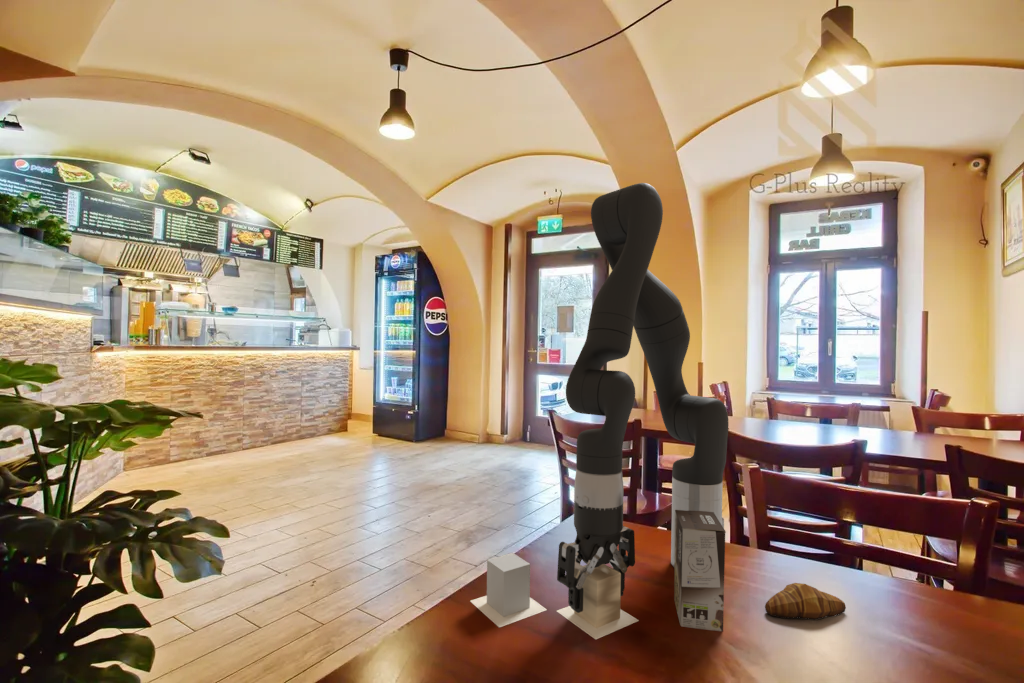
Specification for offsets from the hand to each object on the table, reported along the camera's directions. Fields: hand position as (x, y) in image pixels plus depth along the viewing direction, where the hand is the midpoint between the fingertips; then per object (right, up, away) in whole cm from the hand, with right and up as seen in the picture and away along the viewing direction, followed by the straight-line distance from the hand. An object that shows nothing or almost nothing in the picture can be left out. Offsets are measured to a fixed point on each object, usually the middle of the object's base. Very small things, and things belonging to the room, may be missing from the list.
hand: (597, 602), depth 79 cm
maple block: (0, -2, 0) cm, 2 cm away
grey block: (-14, -2, +3) cm, 14 cm away
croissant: (+35, -4, +4) cm, 35 cm away
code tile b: (-14, -3, +3) cm, 15 cm away
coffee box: (+16, -4, +1) cm, 17 cm away
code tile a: (0, -3, 0) cm, 3 cm away
